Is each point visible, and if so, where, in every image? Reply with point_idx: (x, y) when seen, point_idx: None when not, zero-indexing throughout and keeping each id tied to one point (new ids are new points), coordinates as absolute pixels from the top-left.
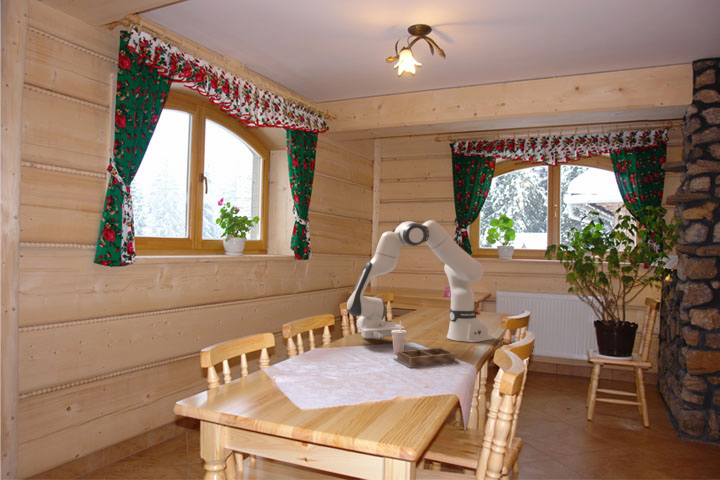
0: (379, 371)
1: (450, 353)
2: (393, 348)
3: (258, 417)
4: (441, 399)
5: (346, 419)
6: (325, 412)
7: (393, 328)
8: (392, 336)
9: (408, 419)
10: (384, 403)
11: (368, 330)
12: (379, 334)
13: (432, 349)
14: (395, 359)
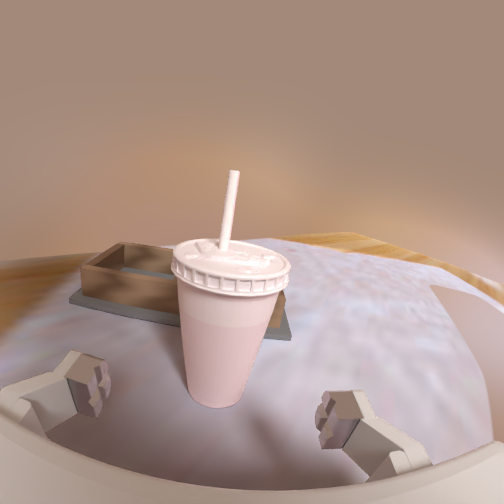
0: (361, 297)
1: (128, 244)
2: (249, 373)
3: (464, 270)
4: (293, 238)
5: (398, 252)
6: (418, 260)
7: (36, 443)
8: (275, 303)
9: (345, 239)
10: (363, 251)
11: (486, 444)
12: (360, 392)
13: (122, 272)
14: (288, 327)
